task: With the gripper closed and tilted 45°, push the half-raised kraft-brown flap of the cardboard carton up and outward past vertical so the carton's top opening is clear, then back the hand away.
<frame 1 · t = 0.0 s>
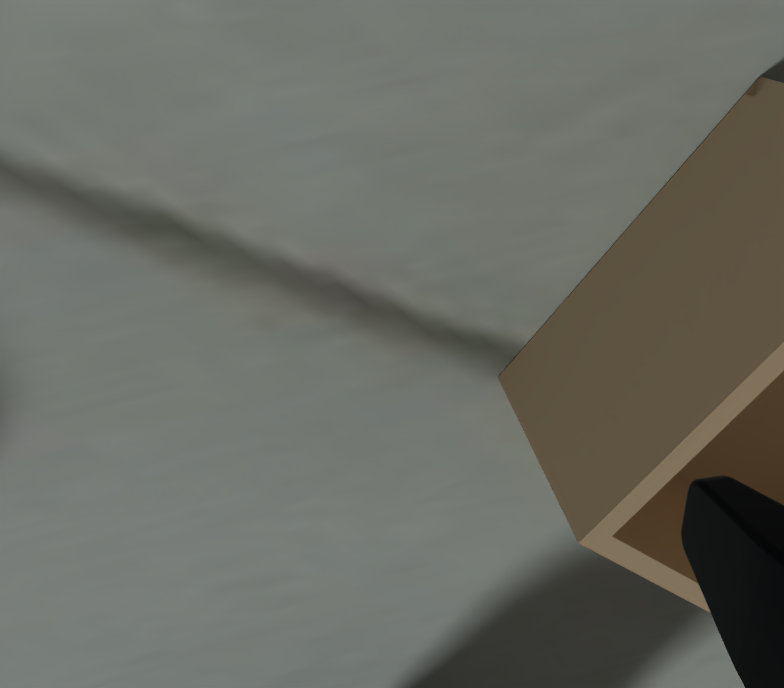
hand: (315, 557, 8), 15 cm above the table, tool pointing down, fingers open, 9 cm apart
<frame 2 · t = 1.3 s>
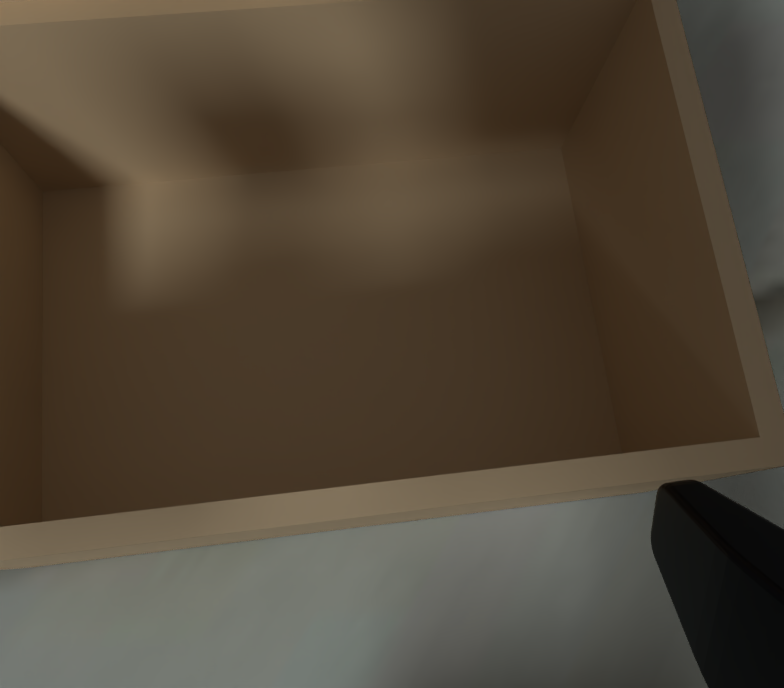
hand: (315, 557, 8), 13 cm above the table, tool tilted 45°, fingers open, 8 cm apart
carton: (325, 332, 23), on the table
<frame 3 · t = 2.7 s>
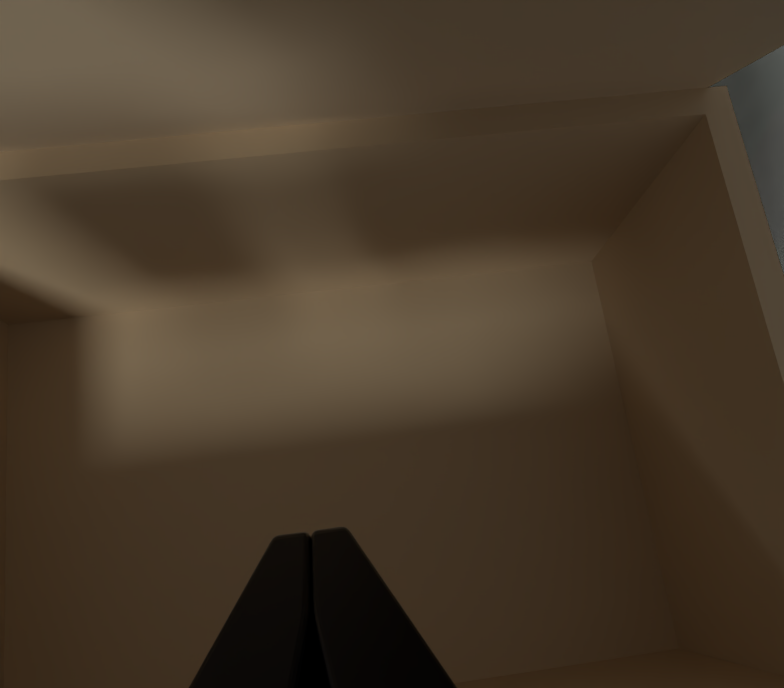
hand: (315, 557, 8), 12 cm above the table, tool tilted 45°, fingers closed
carton flap: (255, 16, 9), point 13 cm above the table, hinge at 70.0°
carton: (330, 482, 20), on the table
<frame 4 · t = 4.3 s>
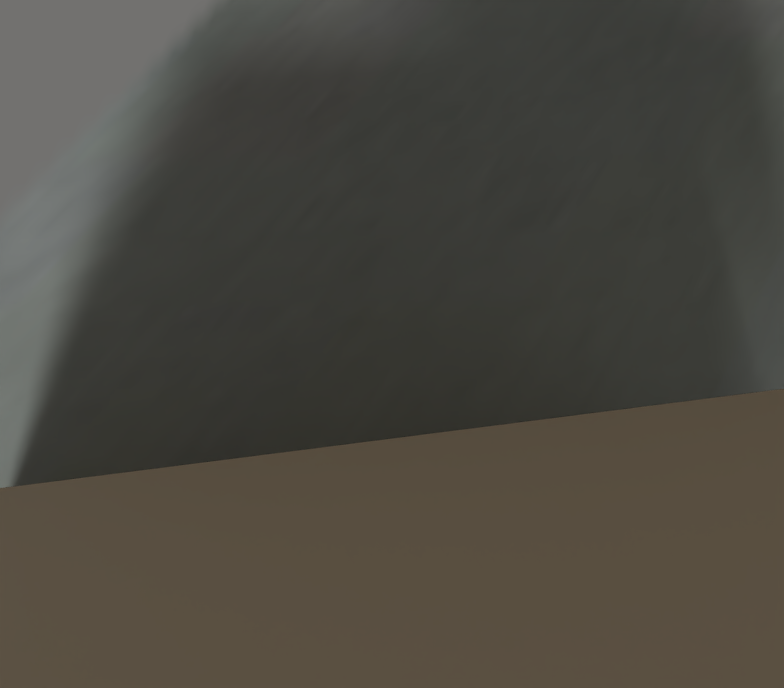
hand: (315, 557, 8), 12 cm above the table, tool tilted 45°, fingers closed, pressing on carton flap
carton flap: (307, 548, 7), point 13 cm above the table, hinge at 72.6°, touching carton, gripper
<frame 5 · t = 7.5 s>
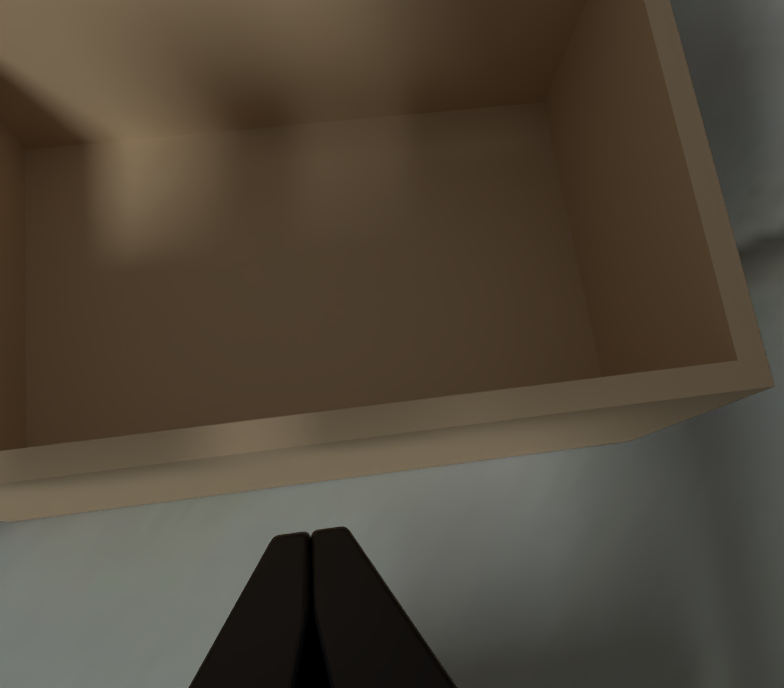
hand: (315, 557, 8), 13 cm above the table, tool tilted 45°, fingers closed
carton: (309, 286, 23), on the table
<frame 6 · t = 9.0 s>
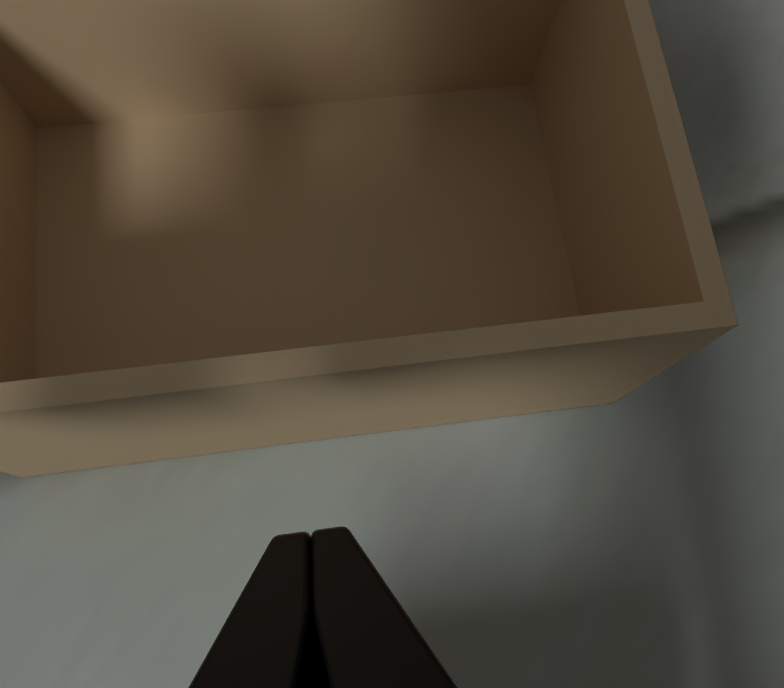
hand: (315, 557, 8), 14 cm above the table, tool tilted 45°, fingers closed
carton: (307, 257, 24), on the table
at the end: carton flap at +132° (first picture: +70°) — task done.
